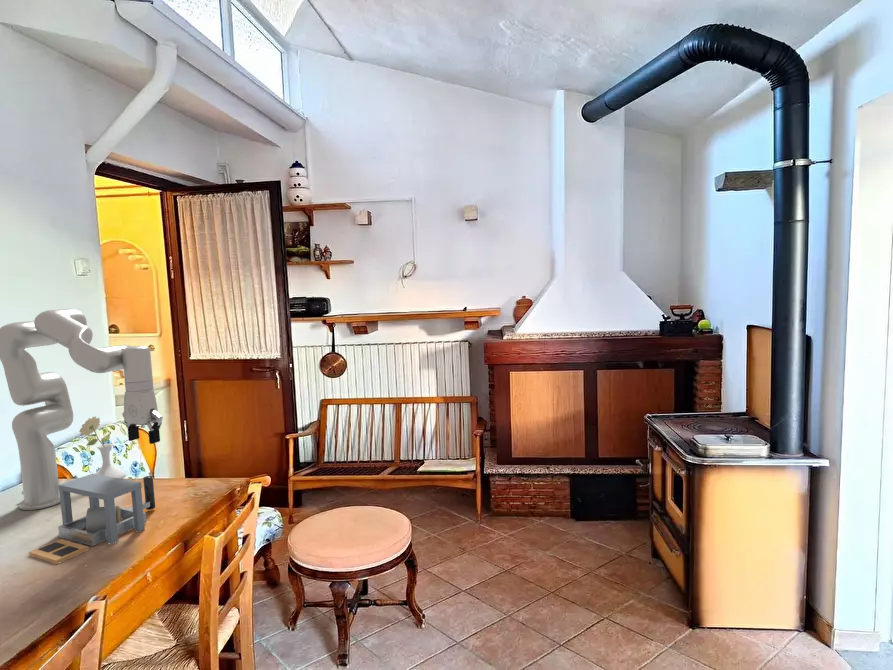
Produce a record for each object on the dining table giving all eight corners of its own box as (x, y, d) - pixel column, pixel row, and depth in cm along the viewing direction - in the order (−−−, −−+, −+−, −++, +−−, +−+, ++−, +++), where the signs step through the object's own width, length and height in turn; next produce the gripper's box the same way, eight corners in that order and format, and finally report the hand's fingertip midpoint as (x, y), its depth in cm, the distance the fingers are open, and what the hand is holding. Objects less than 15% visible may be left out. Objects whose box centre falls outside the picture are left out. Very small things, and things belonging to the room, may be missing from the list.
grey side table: (62, 531, 162) (58, 484, 161) (97, 518, 171) (92, 473, 170) (111, 544, 153) (107, 495, 151) (145, 529, 162) (141, 482, 160)
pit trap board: (29, 555, 148) (29, 551, 148) (61, 542, 155) (60, 538, 155) (56, 564, 143) (56, 560, 143) (88, 550, 150) (87, 546, 150)
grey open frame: (59, 536, 158) (55, 500, 157) (138, 504, 180) (136, 472, 179) (92, 546, 151) (88, 508, 150) (170, 511, 173) (168, 478, 172)
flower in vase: (117, 475, 211) (111, 409, 208) (132, 480, 204) (126, 413, 202) (78, 486, 200) (72, 417, 198) (93, 492, 193) (86, 421, 191)
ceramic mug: (120, 533, 159) (118, 507, 159) (86, 540, 156) (84, 513, 155) (122, 520, 169) (120, 496, 168) (91, 527, 165) (88, 501, 165)
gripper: (109, 387, 171) (114, 441, 173) (146, 390, 164) (151, 447, 165) (132, 383, 178) (137, 435, 180) (169, 385, 170) (174, 440, 172)
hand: (144, 441), depth 173 cm, fingers open, 9 cm apart
